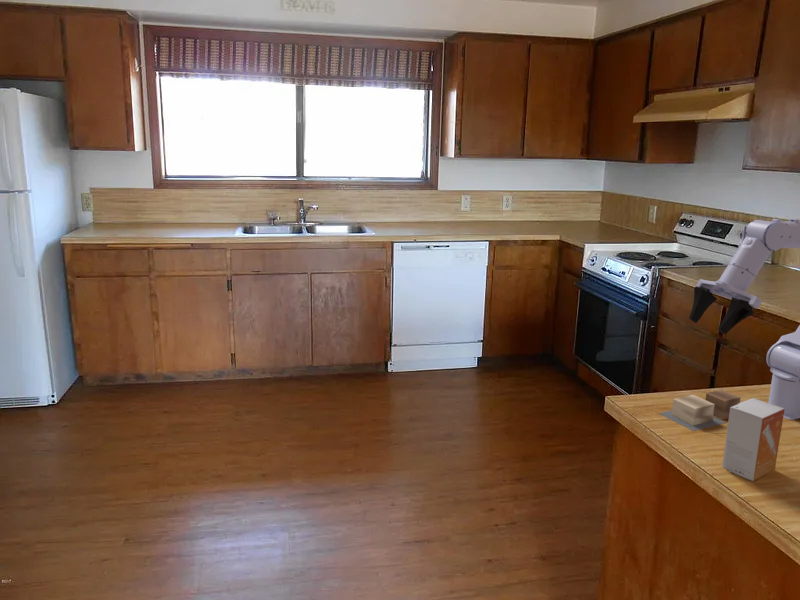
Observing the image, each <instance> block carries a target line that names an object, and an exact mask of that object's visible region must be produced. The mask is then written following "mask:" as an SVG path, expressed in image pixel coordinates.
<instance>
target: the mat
mask: <svg viewBox="0 0 800 600" xmlns="http://www.w3.org/2000/svg"><path fill="white" fill-rule="evenodd" d="M658 415H661V416H663V417H665V418H667V419H668V420H670V421H673V422H674V423H676V424H679V425H680V426H683V427H684V428H687V429H689V430H691V431H692V432H696V431H699V430H702V429H707V428H711V427H715V426H720V425H722V424H726V423H727V422H726V421H725V420H722V419H720V418H718V417H715V416H713V421H709V422H705V423H701V424H697V425H691V424H689V423H687V422H685V421H683V420H681V419H679V418H677V417H675V416H673V415H672V409H671V410H668V411H663V412H659V413H658Z"/></svg>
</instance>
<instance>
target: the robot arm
mask: <svg viewBox="0 0 800 600" xmlns="http://www.w3.org/2000/svg"><path fill="white" fill-rule="evenodd" d="M780 249H800V219H799V218H789V219H788V221H784V220H781V219H779V218H778V219H777V218H773V219H772V220H771V221H770V220H762V219H754V220H753V221H751V222H749V223H748V224H747V225H744V226H743V229H742V232H741V238H740V241H739V242H738V248H737V250H736V251H735V253H734V255H733V256H732V257H731V260H730V261H729V263H728V264H727V266H726V268H725V269H724V270H723V273H722V274H721V276H720V278H719V279H718V280H716V281H714V280H713V281H712V280H708V279H707V280H705V279H702V278H699V280H698V282H697V283H696V285H695V287H694V289H693V292H694V293H693V303H692V308H691V311H690V314H689V316H688V317H689V318H688V320H690V321H691V322H693V323H694V324H697V323H698V322H699V321H700V320H701V318H702V317H703V315H704V314H705V312H706V311H707V310H708V308H709V307H710V306H712V304H713V303H715V302H716V301H717V300H718V298H717V297H716V296H715V295H717V296H720V297H722V298H725V299H729V300H730V303H729V307H728V309H727V312H726V314H725V316H724V317H723V319H722V321H721V323H720V324H719V326H718V328H717V331H719V332H720V333H721V334H723V335H727V334H728V333H729V332H730V331H731V330H732V329H733V328H734V327H736V325H738V324H739V323H741V321H743V320H745V319H746V318H748V317H751V316H752V315H754V313H755V311H754V310H753V309H755V310H757V309H758V308H759V307H760V306H761V304H762V303H763V299H761V298H759V297H758V296H756V295H753V294H750V293H748V292H747V290H748V289H749V288H750V286H751V284H752V283H753V281H754V279H755V278H756V276H757V275H758V273H759V271H760V270H761V269H762V267H763V265H764V264H765V262H766V261H767V259H768V258H769V256H770V254H771V252H772V251H775V252H776V251H778V250H780ZM765 357H766V358H765V359H766V361H765V362H766V364H767V366H768V367H769V368H770V369H769V370H770V372H771V373H772V376H771V377H772V378H771V382H770V390H769V397H768V403H770V404H773V405H775V406H779V407H781V408H784V409H785V410H784V416H783V419H786V420H788V421H789V420H790V421H793V420H798V419H800V324H799V325H798V326H797V329H796V330H795V331H794V332H791V333H788V334H784V335H781V336H780V338H779V339H778V341H776V343H774V344H772V345H771V346H770V348H769V349H768V350H767V353H766V356H765Z"/></svg>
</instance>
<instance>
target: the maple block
mask: <svg viewBox="0 0 800 600" xmlns="http://www.w3.org/2000/svg"><path fill="white" fill-rule="evenodd" d="M672 400H673V401H672V409H671V410H672V415H673V416H675V417H677V418H679V419H681V420H683V421H685V422H687V423H689V424H691V425H697V424H701V423H705V422H709V421H713V417H714V416H713V413H714V405H715V404H713V403H711V402H708V401H706V399H704V398H701V397H700V396H697V395H694V394H690V395H684V396H680V397H676V398H673V399H672Z"/></svg>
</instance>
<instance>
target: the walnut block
mask: <svg viewBox="0 0 800 600" xmlns="http://www.w3.org/2000/svg"><path fill="white" fill-rule="evenodd" d="M705 400H706V401H708V402H711V403H713V404H715V405H714V413H713V417H716V418H718V419H720V420H722V421H724V420H727V419H729V413H730V407H732V406H735V405H737V404H739V403H741V397H740V396H739V395H736V394H733V393H731V392H728V391H726V390H724V389H720V390H715V391H712V392H711V391H710V392H706V394H705Z"/></svg>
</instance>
